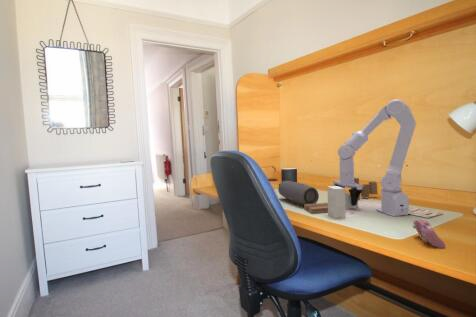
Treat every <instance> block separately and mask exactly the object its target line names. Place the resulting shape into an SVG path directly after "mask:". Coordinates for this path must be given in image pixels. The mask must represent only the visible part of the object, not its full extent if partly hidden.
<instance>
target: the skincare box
mask: <svg viewBox="0 0 476 317" xmlns="http://www.w3.org/2000/svg"><path fill="white" fill-rule="evenodd" d="M345 194H346V187H345V188H342V187H339V186H335V185H332V186H331V185H329V186H327V203H328V213H327V215H328V216H329V217H330V218H333V219H335V220H340V219H346V214H345V213H346V209H345Z"/></svg>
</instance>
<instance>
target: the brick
mask: <svg viewBox="0 0 476 317" xmlns="http://www.w3.org/2000/svg"><path fill="white" fill-rule="evenodd" d="M356 207H358V208H359V200H358V201H357V205H355V206H352V204H351V196H350V192H349V193H345V210H347V209H346V208H348V209H357V208H356Z"/></svg>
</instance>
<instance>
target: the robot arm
mask: <svg viewBox="0 0 476 317" xmlns="http://www.w3.org/2000/svg"><path fill="white" fill-rule="evenodd" d="M392 118H394V119H395V120H396V122H397V123H398V125H399V126H400V128H399V132H398V133H397V138H396V142H395V145H394V148H393V152H392V154H391V158H390V162H389V165H388V168H387V170H386V173H385V174H384V176H383V177H382V178H381V180H380V185H381V189H380V193H381V194H380V195H381V196H380V199H381V203H380V205H381V206H380V208H375V210H376V211H378V212H380V213H384V214H386V215H389V216H391V217H396V216H397V217H398V216H409V215H408V214H410V215H411V212H410V211H409V210H410V208H409V204H410V202H409V201H410V198H409V196H408V195H407V194H406V193H404V191H403V188H402V187H401V186H400V185H401V184H402V181H403V180H402V172H403V167H404V164H405V160H406V158H407V155H408V151H409V149H410V145H411V141H412V140H413V139H412V138H413V136H414V132H415V129H416V125H417V121H416V119H415V116H414V115H413V112H412V109H411V108H410V106H409V105H407V103H405V102H404V100H401V99H399V98H397V99H395V98H394V99H391V100H390V101H389V102H388V103H386V105H384V106H382V108H381V109H380V110H378V112H377V113H376V114H375V115H374V116H373V118H371V120H370V121H369V122H368V123H367V124H366V125H365V126H364V127H363V128H362V130H356V131H355V132H354V131H353V132H352V133H351V136H350V138H349V139H348V140H347V141H345V142H343V145H340V146H339V148H338V149H337V155H338V157H339V180H333V181H332V184H333V185H332V186H339V187H342V188H345V189H346V188H349V189H348V192H349V193H350V196H351V204H352V206H355V205H357V201H358V202H359V199H358V198H359V195H360V196H361V192H362V185H363V184H360V183H359V184H357V183H355V182H354V178H355V168H354V167H355V166H354V165H355V162H354V156H355V155H356V152H358V151H359V150H360V149H361V148H362V147H363V146H364V145H365V144H366V143H367V142H368V141H369V135H370V134H371V133H372V132H374V130H376V129H377V127H379V126H380V125H381V124H382V123H383V122H385V121H388V120H391V119H392ZM351 188H353V189H351Z"/></svg>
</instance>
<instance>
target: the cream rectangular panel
mask: <svg viewBox="0 0 476 317" xmlns="http://www.w3.org/2000/svg"><path fill="white" fill-rule="evenodd" d="M355 214H356V213H354V212H352V211H350V212H349V211H348V212H345V215H355Z"/></svg>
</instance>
